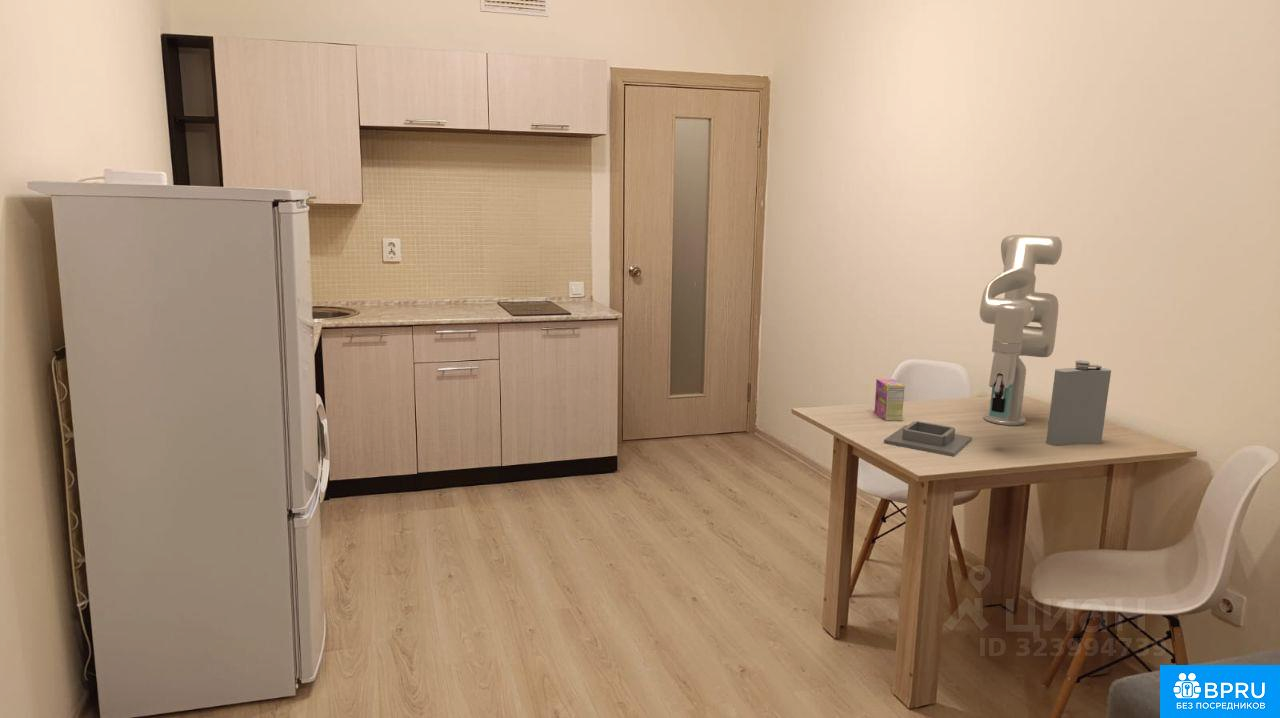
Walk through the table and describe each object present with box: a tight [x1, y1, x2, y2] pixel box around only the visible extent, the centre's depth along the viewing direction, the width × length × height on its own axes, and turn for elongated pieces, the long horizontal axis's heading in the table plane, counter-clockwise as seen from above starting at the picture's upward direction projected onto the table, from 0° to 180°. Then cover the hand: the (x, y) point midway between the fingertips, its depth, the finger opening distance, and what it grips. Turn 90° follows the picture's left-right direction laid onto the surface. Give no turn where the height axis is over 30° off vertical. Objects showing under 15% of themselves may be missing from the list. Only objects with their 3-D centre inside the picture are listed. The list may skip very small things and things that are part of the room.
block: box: [988, 385, 1013, 419], centre depth 240 cm, size 4×4×9 cm
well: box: [883, 420, 973, 457], centre depth 249 cm, size 20×20×4 cm
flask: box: [1045, 359, 1112, 447], centre depth 249 cm, size 17×5×25 cm, turn 101°
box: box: [874, 378, 905, 422], centre depth 275 cm, size 10×6×12 cm, turn 5°
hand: (999, 408), depth 241 cm, fingers closed on block, 4 cm apart
